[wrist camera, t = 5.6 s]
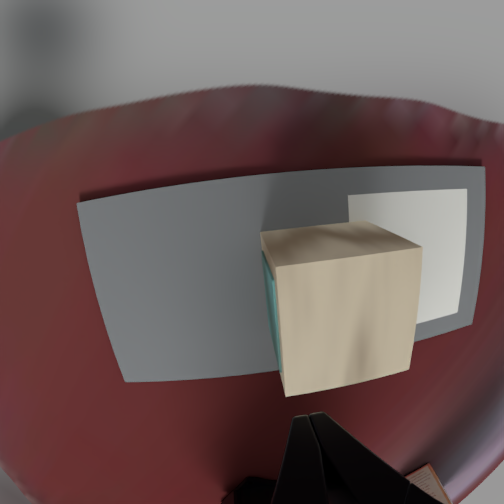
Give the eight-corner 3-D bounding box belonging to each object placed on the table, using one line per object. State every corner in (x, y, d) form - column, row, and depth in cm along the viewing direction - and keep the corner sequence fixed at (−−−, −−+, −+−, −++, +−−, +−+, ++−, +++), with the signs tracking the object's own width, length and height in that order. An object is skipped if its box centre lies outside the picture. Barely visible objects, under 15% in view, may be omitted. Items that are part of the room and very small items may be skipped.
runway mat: (481, 166, 17) (485, 166, 17) (469, 321, 20) (472, 324, 20) (79, 202, 16) (76, 203, 16) (126, 378, 19) (125, 382, 19)
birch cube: (258, 232, 17) (367, 220, 17) (268, 331, 18) (366, 315, 19) (272, 267, 11) (424, 246, 11) (283, 397, 13) (410, 369, 13)
